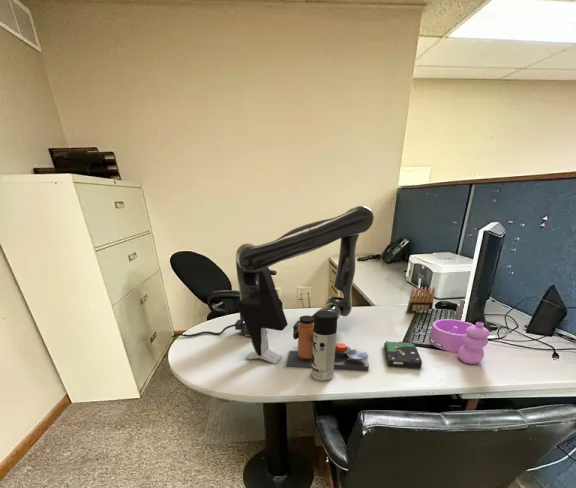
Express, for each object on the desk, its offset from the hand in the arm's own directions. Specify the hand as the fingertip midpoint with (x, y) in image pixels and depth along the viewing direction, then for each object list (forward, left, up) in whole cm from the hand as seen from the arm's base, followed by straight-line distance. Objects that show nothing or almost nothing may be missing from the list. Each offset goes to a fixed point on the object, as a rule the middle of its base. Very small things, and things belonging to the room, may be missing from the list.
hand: (303, 338), depth 103 cm
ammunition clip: (+49, +53, -9) cm, 73 cm away
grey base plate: (+14, +2, -9) cm, 17 cm away
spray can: (+7, -7, -9) cm, 13 cm away
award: (-13, +2, -9) cm, 16 cm away
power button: (+12, +5, -6) cm, 14 cm away
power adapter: (+64, +43, -9) cm, 78 cm away
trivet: (0, +2, -9) cm, 9 cm away
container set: (+54, +16, -9) cm, 57 cm away
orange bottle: (+1, +2, -7) cm, 8 cm away
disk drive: (+33, +7, -9) cm, 35 cm away
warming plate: (+17, +1, -5) cm, 18 cm away
